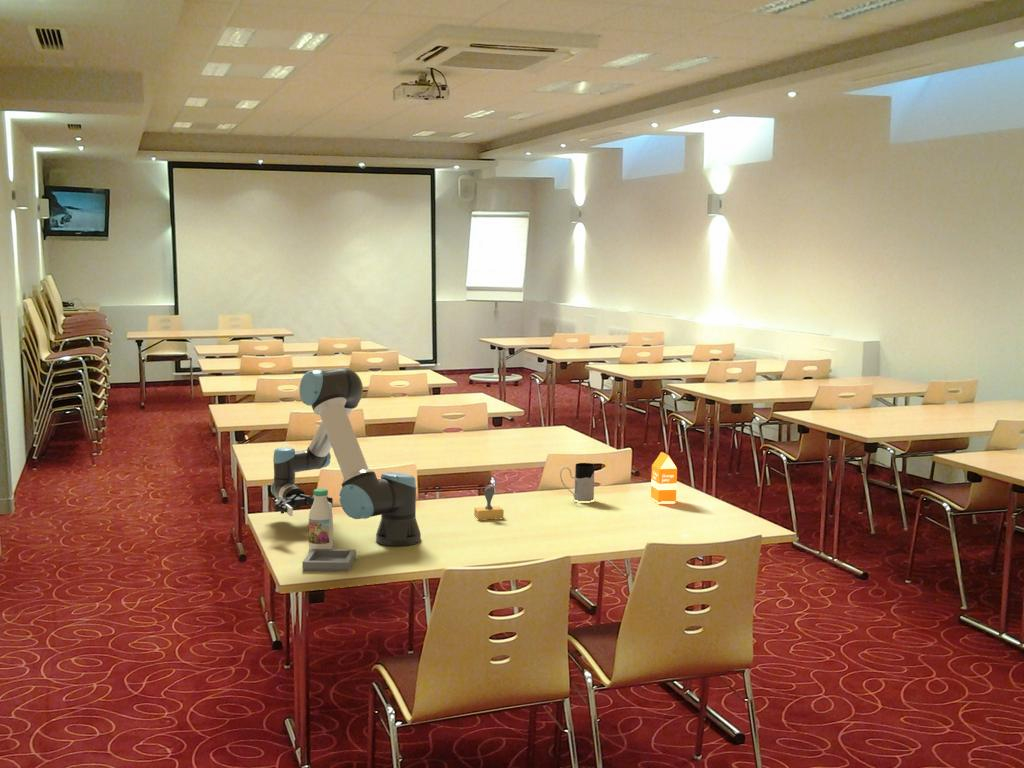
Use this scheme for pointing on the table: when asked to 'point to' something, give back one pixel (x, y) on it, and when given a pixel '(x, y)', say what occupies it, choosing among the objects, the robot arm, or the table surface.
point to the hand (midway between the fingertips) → (311, 509)
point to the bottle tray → (329, 560)
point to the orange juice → (664, 479)
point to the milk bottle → (320, 522)
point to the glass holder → (583, 482)
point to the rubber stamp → (488, 508)
